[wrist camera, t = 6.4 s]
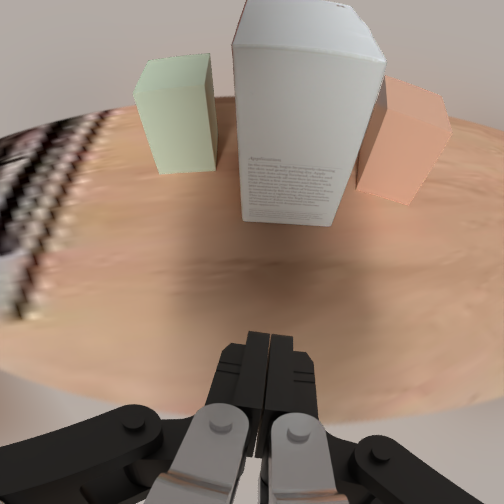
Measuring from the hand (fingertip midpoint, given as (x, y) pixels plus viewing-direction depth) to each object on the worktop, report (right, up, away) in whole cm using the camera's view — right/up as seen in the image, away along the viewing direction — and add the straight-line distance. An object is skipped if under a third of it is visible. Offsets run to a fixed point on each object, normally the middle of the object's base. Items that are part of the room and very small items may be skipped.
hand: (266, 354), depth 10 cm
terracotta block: (+10, +10, +13) cm, 19 cm away
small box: (+2, +9, +13) cm, 16 cm away
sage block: (-6, +12, +14) cm, 19 cm away
